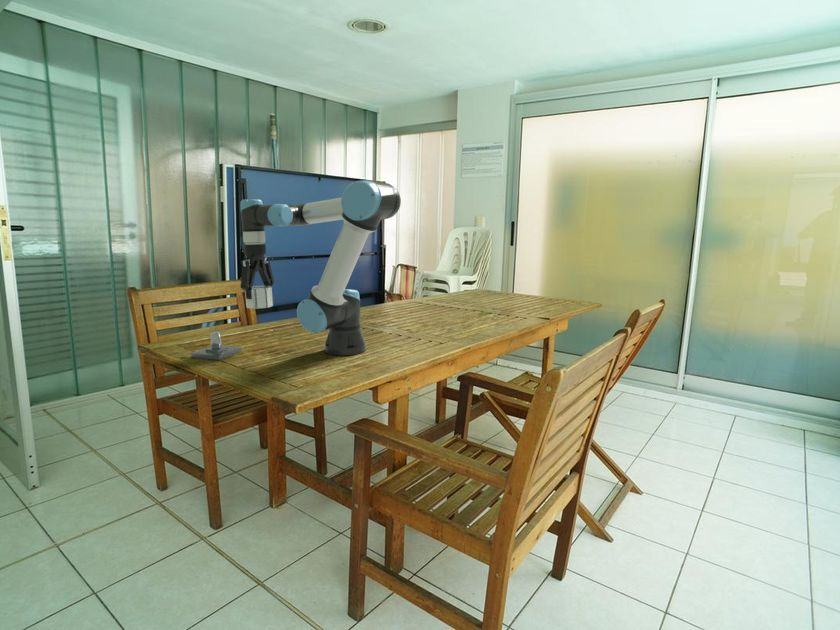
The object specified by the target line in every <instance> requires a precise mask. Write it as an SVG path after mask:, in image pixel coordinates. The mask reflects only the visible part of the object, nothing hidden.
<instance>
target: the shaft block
mask: <svg viewBox="0 0 840 630" xmlns="http://www.w3.org/2000/svg"><path fill="white" fill-rule="evenodd" d="M209 335H210V346H207V347H204V348H202V349H200V350H197V351H193V352H191V353H190V354H191V355H190V356H191V358H193V359H194V358H196V359H206V360H213V361H214V360H215V361H221V360H223V359H226V358H228V357H230V356H233V355H236V354H238V353H241V352H243V350H242V346H234V345H233V346H232V345H222V338H221V337H222V335H221V331H212V332H210V333H209Z"/></svg>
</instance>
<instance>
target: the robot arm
mask: <svg viewBox="0 0 840 630" xmlns="http://www.w3.org/2000/svg"><path fill="white" fill-rule="evenodd" d="M401 202H402V200H401V196H400V193H399V191H398V190H397V188H396V187H395V186H393V185H392V184H390V183H386V182H381V181H380V182H379V181H372V180H368V179H366V180H363V179H362V180H356V181H353V182H351V183H350V184H348V185H347V186H346V187H345V189H344V190H343V192H342V195H341V197H336V198H331V199H325V200H319V201H313V202H312V201H311V202H307V203H300V204H285V203H284V204H283V203H275V204H274V203H272V204H263V200H261V199H258V198H256V199H242V200H241V201H240V205H239V206H240V211H239V213H240V219H241V228H242V240H243V243H244V245H243V251H244V255H245V256H246V260H241V261H240V264H241V277H240V278H241V279H240V289H241V290H243V291H244V292H245V291H246V295H245V300H246V299H247V307H248V308H247V307H246V308H247V309H253V308H255V299H254V290H252V286H254V281H255V277H256V273H257V272H258V273H259V277H260V278H261V281H262V283H263V286H271V287H272V286H274V283H275V281H274V276H273V271H272V267H271V258H270V257H265V255H266V254H267V246H266V243H265V242H266V241H267V240H266V233H265V230H266V229H265V227H277V228H280V227H281V228H283V227H297V226H299V227H304V226H305V227H306V226H310V225H314V224H319V223H320V224H321V223H327V222H335V221H341V220H342V221H343V224H342V226H341V229H340V232H339V234H338V237H337V238H336V241H335V244H334V245H333V249H332V251H331V253H330V256H329V257H328V261H327V263H326V265H325V268H324V270H323V273H322V275H321V277H320V280H319V283H318V284H317V285H314V286H312V288H311V290H310V291H309V292H310V293H309V295H308V297H307V298H305V299H302V300H301V301H300V302H299V303H298V304H297V309H296V315H297V316H296V317H297V319H298V322H299V324H300V325H301V327H302V328H303V329H304V330H306V331H307V332H310V333H313V334H314V333H322V332H324V331H327V330H328V331H327V336H326V340H325V343H324V352H325V354H328V355H332V356H353V355H357V354H361V353H364V352H366V350H367V345H366V344H367V343H366V341H365V338H364V335H363V332H362V330H361V329H362V328H361V327H362V326H361V299H360V292H359V291H358V290H357V289H351V288H347V286H348V283H349V281H350V278H351V276H352V273H353V271H354V269H355V267H356V264H357V262H358V260H359V259H360V256H361V253H362V251H363V249H364V246H365V244H366V242H367V240H368V237H369V235H370V234H371V233H374V232H376V231H377V229H378V226H379V224H380V222H381V220H388V219H391V218H392V217H394V216H395V215H397V213H398V212H399V210H400V208H401V204H402V203H401Z"/></svg>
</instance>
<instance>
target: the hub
mask: <svg viewBox="0 0 840 630" xmlns="http://www.w3.org/2000/svg"><path fill="white" fill-rule="evenodd" d="M252 290H254V299H255V308H252V309H257V310H258V309H266V308H271V307H274V299H273V287H272V286H265V285H253V286H252ZM244 294H245V296H246V291H245V290H244ZM245 305H246V308H247V309H249V308H248V307H247V299H246V298H245Z"/></svg>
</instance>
